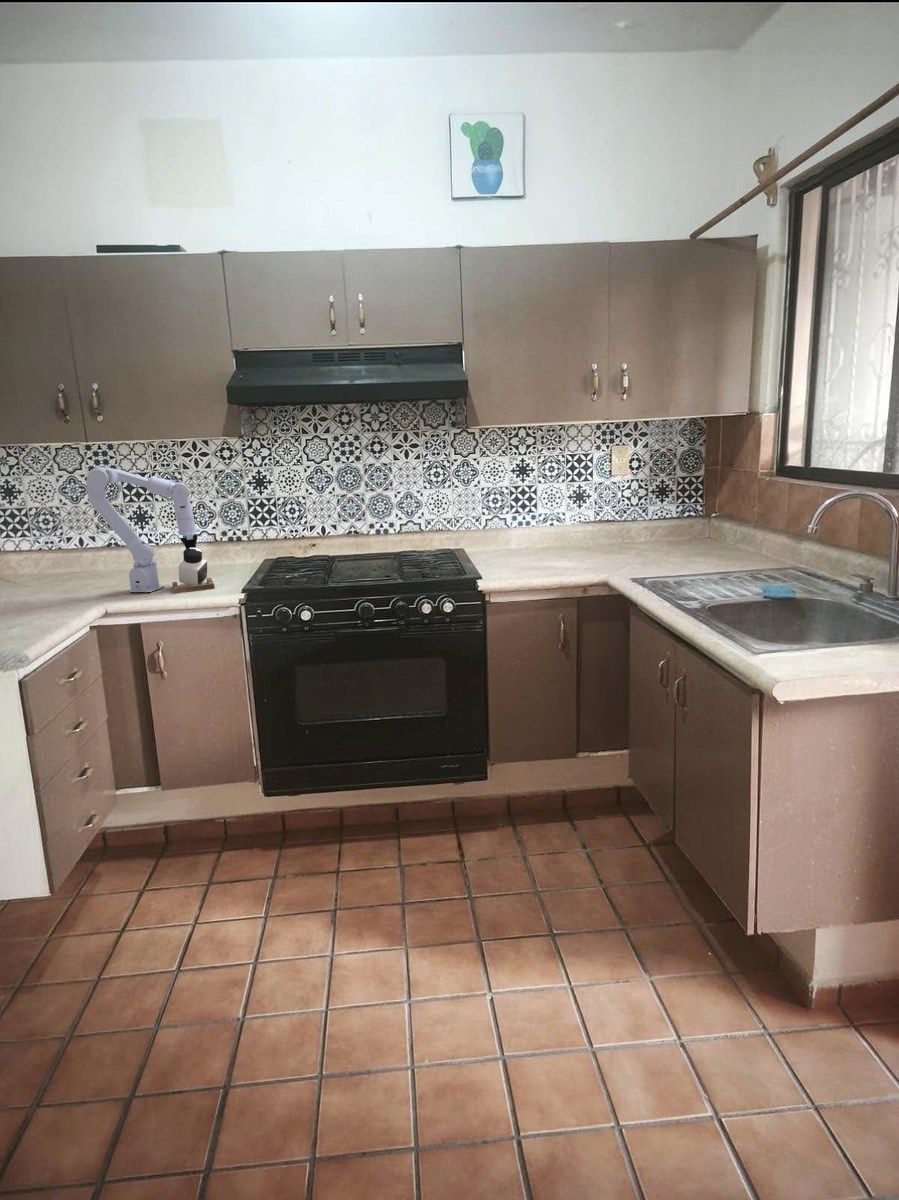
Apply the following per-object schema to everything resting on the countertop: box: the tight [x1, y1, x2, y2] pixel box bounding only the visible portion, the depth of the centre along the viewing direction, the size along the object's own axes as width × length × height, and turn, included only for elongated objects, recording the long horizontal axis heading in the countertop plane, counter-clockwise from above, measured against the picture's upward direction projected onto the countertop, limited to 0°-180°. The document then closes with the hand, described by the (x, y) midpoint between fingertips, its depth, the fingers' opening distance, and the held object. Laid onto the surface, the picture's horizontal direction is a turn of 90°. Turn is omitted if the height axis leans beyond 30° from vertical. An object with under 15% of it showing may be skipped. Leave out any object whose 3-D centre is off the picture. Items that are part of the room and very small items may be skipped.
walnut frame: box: [171, 577, 215, 594], centre depth 265 cm, size 12×13×2 cm
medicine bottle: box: [178, 547, 208, 586], centre depth 266 cm, size 7×7×12 cm
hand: (192, 556), depth 268 cm, fingers closed, pressing on medicine bottle
